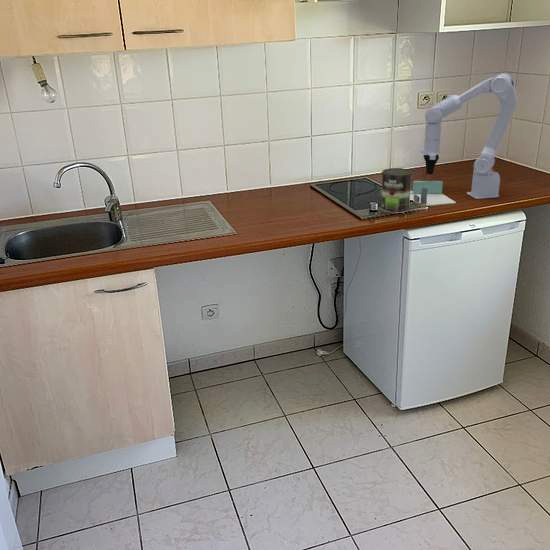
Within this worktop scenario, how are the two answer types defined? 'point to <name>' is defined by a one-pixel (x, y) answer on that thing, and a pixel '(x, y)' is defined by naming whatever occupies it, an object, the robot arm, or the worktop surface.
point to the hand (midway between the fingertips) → (429, 173)
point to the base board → (433, 199)
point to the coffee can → (396, 189)
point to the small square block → (422, 196)
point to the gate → (428, 186)
